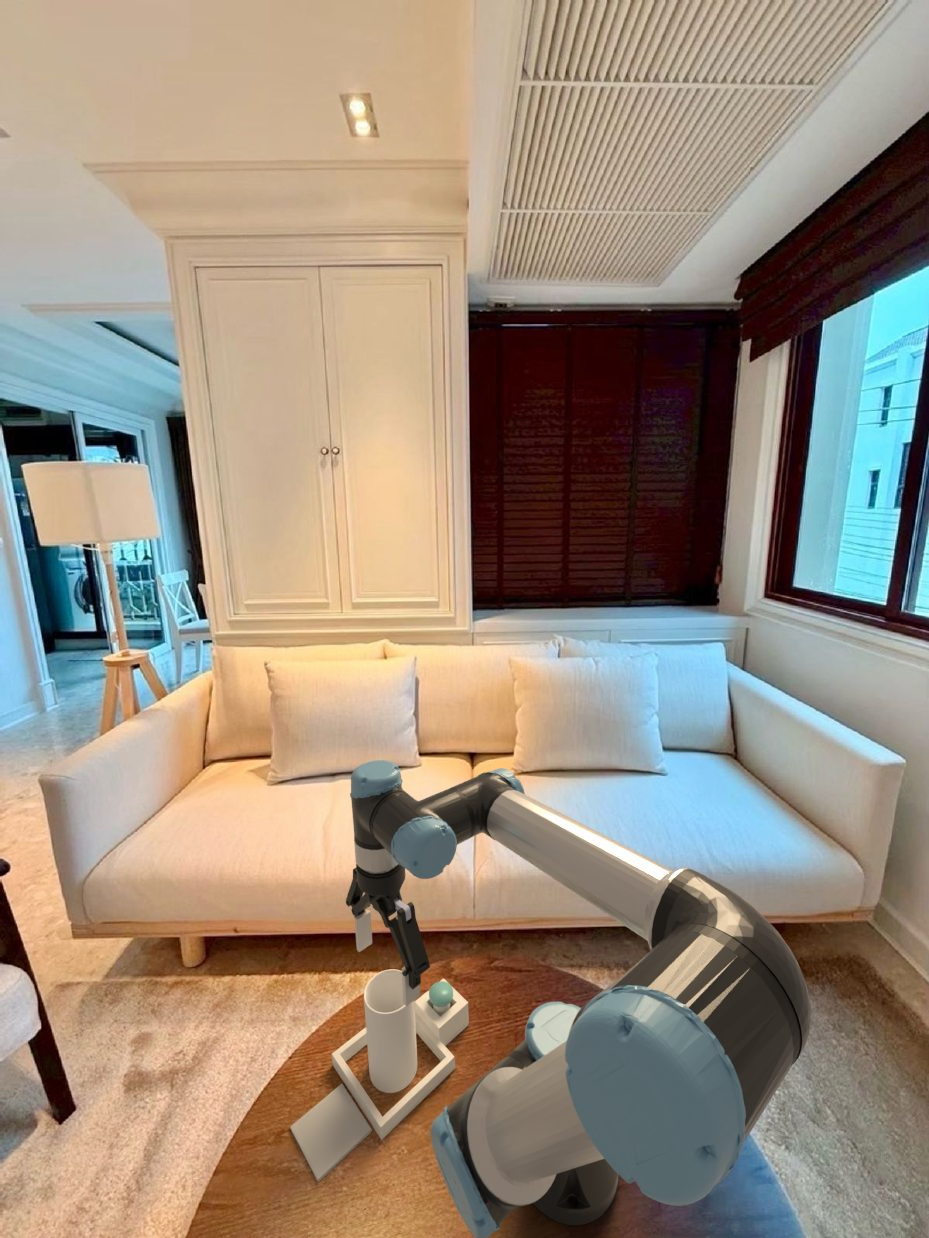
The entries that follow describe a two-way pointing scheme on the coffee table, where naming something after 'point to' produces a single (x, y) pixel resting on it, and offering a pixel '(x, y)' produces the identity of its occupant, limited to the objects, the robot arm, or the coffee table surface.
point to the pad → (330, 1131)
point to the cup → (390, 1032)
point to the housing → (436, 1037)
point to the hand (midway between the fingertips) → (387, 971)
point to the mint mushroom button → (441, 997)
